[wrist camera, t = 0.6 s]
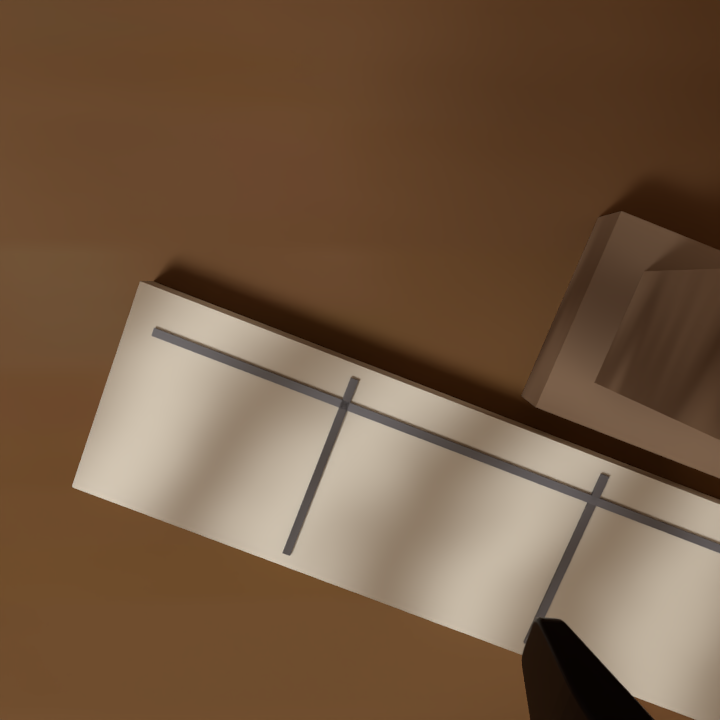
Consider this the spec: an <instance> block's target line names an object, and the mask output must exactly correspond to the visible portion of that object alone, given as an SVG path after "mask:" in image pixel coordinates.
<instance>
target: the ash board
mask: <svg viewBox="0 0 720 720" xmlns="http://www.w3.org/2000/svg"><path fill="white" fill-rule="evenodd" d="M72 487H73V488H76V489H79V490H81V491H84V492H87V493H89V494H92V495H95V496H97V497H100V498H103V499H105V500H108V501H111V502H113V503H116V504H119V505H122V506H124V507H127V508H130V509H132V510H135V511H138V512H140V513H143V514H146V515H148V516H151V517H154V518H156V519H159V520H162V521H164V522H167V523H170V524H172V525H175V526H178V527H181V528H183V529H186V530H189V531H191V532H194V533H197V534H199V535H202V536H205V537H207V538H210V539H213V540H215V541H218V542H221V543H223V544H226V545H229V546H232V547H234V548H237V549H240V550H242V551H245V552H248V553H250V554H253V555H256V556H258V557H261V558H264V559H266V560H269V561H272V562H274V563H277V564H280V565H282V566H285V567H288V568H291V569H293V570H296V571H299V572H301V573H304V574H307V575H309V576H312V577H315V578H317V579H320V580H323V581H325V582H328V583H331V584H333V585H336V586H339V587H342V588H344V589H347V590H350V591H352V592H355V593H358V594H360V595H363V596H366V597H368V598H371V599H374V600H376V601H379V602H382V603H384V604H387V605H390V606H393V607H395V608H398V609H401V610H403V611H406V612H409V613H411V614H414V615H417V616H419V617H422V618H425V619H427V620H430V621H433V622H435V623H438V624H441V625H443V626H446V627H449V628H452V629H454V630H457V631H460V632H462V633H465V634H468V635H470V636H473V637H476V638H478V639H481V640H484V641H486V642H489V643H492V644H494V645H497V646H500V647H503V648H505V649H508V650H511V651H513V652H516V653H519V654H521V655H522V654H523V649H524V646H525V644H526V641H527V638H528V635H529V632H530V629H531V626H532V623H533V621H534V620H535V619H536V618H537V617H547V618H558V619H561V620H563V621H564V622H565V623H566V624H567V625H568V626H569V627H570V628H571V629H572V630H573V631H574V632H575V634H576V635H577V636H578V637H579V638H580V639H581V640H582V641H583V642H584V643H585V644H586V646H587V647H588V648H589V649H590V650H591V651H592V652H593V653H594V654H595V655H596V656H597V658H598V659H599V660H600V661H601V662H602V663H603V664H604V665H605V666H606V667H607V669H608V670H609V671H610V672H611V673H612V674H613V675H614V676H615V677H616V678H617V679H618V681H619V682H620V683H621V684H622V685H623V686H624V687H625V688H626V689H627V690H628V691H629V693H630V694H631V695H632V696H634V697H637V698H639V699H642V700H645V701H647V702H650V703H653V704H655V705H658V706H661V707H664V708H666V709H669V710H672V711H674V712H677V713H680V714H682V715H685V716H688V717H690V718H693V719H696V720H720V500H719V499H716V498H714V497H711V496H709V495H706V494H703V493H701V492H698V491H696V490H693V489H690V488H688V487H685V486H683V485H680V484H678V483H675V482H672V481H670V480H667V479H665V478H662V477H659V476H657V475H654V474H652V473H649V472H646V471H644V470H641V469H639V468H636V467H633V466H631V465H628V464H626V463H623V462H620V461H618V460H615V459H613V458H610V457H608V456H605V455H602V454H600V453H597V452H595V451H592V450H589V449H587V448H584V447H582V446H579V445H576V444H574V443H571V442H569V441H566V440H563V439H561V438H558V437H556V436H553V435H550V434H548V433H545V432H543V431H540V430H537V429H535V428H532V427H530V426H527V425H525V424H522V423H519V422H517V421H514V420H512V419H509V418H506V417H504V416H501V415H499V414H496V413H493V412H491V411H488V410H486V409H483V408H480V407H478V406H475V405H473V404H470V403H467V402H465V401H462V400H460V399H457V398H454V397H452V396H449V395H447V394H444V393H442V392H439V391H436V390H434V389H431V388H429V387H426V386H423V385H421V384H418V383H416V382H413V381H410V380H408V379H405V378H403V377H400V376H397V375H395V374H392V373H390V372H387V371H384V370H382V369H379V368H377V367H374V366H371V365H369V364H366V363H364V362H361V361H359V360H356V359H353V358H351V357H348V356H346V355H343V354H340V353H338V352H335V351H333V350H330V349H327V348H325V347H322V346H320V345H317V344H314V343H312V342H309V341H307V340H304V339H301V338H299V337H296V336H294V335H291V334H288V333H286V332H283V331H281V330H278V329H276V328H273V327H270V326H268V325H265V324H263V323H260V322H257V321H255V320H252V319H250V318H247V317H244V316H242V315H239V314H237V313H234V312H231V311H229V310H226V309H224V308H221V307H218V306H216V305H213V304H211V303H208V302H205V301H203V300H200V299H198V298H195V297H193V296H190V295H187V294H185V293H182V292H180V291H177V290H174V289H172V288H169V287H167V286H164V285H161V284H159V283H156V282H154V281H140V283H139V286H138V289H137V292H136V295H135V298H134V301H133V304H132V307H131V310H130V313H129V316H128V319H127V322H126V325H125V329H124V332H123V335H122V338H121V341H120V344H119V347H118V350H117V353H116V356H115V359H114V362H113V365H112V368H111V371H110V374H109V377H108V380H107V383H106V386H105V389H104V392H103V395H102V398H101V401H100V404H99V407H98V410H97V413H96V416H95V419H94V422H93V425H92V428H91V431H90V434H89V437H88V440H87V443H86V446H85V449H84V452H83V455H82V458H81V461H80V464H79V467H78V470H77V473H76V476H75V479H74V482H73V485H72Z"/></svg>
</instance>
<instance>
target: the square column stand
mask: <svg viewBox="0 0 720 720" xmlns="http://www.w3.org/2000/svg"><path fill="white" fill-rule="evenodd" d="M521 396H522V397H523V398H524V399H526V400H527V401H528V402H529V403H531V404H532V405H533V406H535V407H536V408H539V409H541V410H544V411H547V412H549V413H552V414H554V415H557V416H560V417H562V418H565V419H567V420H570V421H572V422H575V423H578V424H580V425H583V426H585V427H588V428H591V429H593V430H596V431H598V432H601V433H603V434H606V435H609V436H611V437H614V438H616V439H619V440H622V441H624V442H627V443H629V444H632V445H635V446H637V447H640V448H642V449H645V450H647V451H650V452H653V453H655V454H658V455H660V456H663V457H666V458H668V459H671V460H673V461H676V462H678V463H681V464H684V465H686V466H689V467H691V468H694V469H697V470H699V471H702V472H704V473H707V474H709V475H712V476H715V477H717V478H720V250H718V249H715V248H713V247H710V246H708V245H705V244H703V243H700V242H698V241H695V240H693V239H690V238H688V237H685V236H683V235H680V234H678V233H675V232H673V231H670V230H668V229H665V228H663V227H660V226H658V225H655V224H653V223H650V222H648V221H645V220H643V219H640V218H638V217H635V216H633V215H630V214H628V213H625V212H623V211H620V212H616V213H612V214H609V215H605V216H602V217H598V219H597V221H596V224H595V226H594V228H593V231H592V233H591V235H590V237H589V240H588V242H587V244H586V247H585V249H584V251H583V254H582V256H581V258H580V261H579V263H578V265H577V268H576V270H575V272H574V275H573V277H572V279H571V281H570V284H569V286H568V288H567V291H566V293H565V295H564V298H563V300H562V302H561V305H560V307H559V309H558V312H557V314H556V316H555V319H554V321H553V323H552V325H551V328H550V330H549V332H548V335H547V337H546V339H545V342H544V344H543V346H542V349H541V351H540V353H539V356H538V358H537V360H536V362H535V365H534V367H533V369H532V372H531V374H530V376H529V379H528V381H527V383H526V386H525V388H524V390H523V393H522V395H521Z"/></svg>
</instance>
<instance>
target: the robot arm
mask: <svg viewBox="0 0 720 720" xmlns="http://www.w3.org/2000/svg"><path fill="white" fill-rule="evenodd" d="M522 669H523V675H524V682H525V688H526V695H527V701H528V708H529V714H530V720H654V719H653V718H652V717H651V715H650V714H649V713H648V712H647V711H646V710H645V709H644V708H643V707H642V706H641V705H640V703H639V702H638V701H637V700H636V699H635V698H634V697H633V696H632V695H631V694H630V693H629V691H628V690H627V689H626V688H625V687H624V686H623V685H622V684H621V683H620V682H619V681H618V679H617V678H616V677H615V676H614V675H613V674H612V673H611V672H610V671H609V670H608V669H607V667H606V666H605V665H604V664H603V663H602V662H601V661H600V660H599V659H598V658H597V656H596V655H595V654H594V653H593V652H592V651H591V650H590V649H589V648H588V647H587V646H586V644H585V643H584V642H583V641H582V640H581V639H580V638H579V637H578V636H577V635H576V634H575V632H574V631H573V630H572V629H571V628H570V627H569V626H568V625H567V624H566V623H565V622H564V621H563V620H561V619H558V618H547V617H537V618H536V619H535V620H534V621H533V623H532V626H531V629H530V632H529V635H528V638H527V641H526V644H525V646H524V649H523V654H522Z"/></svg>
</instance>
